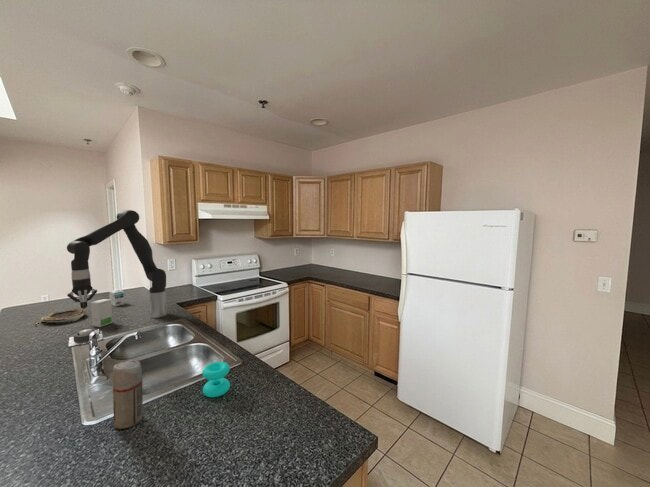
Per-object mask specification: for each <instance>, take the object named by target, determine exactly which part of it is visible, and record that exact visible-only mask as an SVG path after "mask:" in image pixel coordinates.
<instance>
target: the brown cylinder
mask: <svg viewBox="0 0 650 487" xmlns="http://www.w3.org/2000/svg"><path fill="white" fill-rule="evenodd" d="M142 368H143V367H142V364H141V362H140V361H138V360H135V359H129V360H126V361H123V362H119V363H116V364H114V365H113V369H112V393H113V397H112V398H113V399H112V400H113V401H112V402H113V428H114V429H116V430H122V429H123V430H125V429H130V428H133V427H134V426H136V425H138V424H139V423H141V421H142V420H143V414H144V412H143V410H144V409H143V408H144V407H143V406H144V405H143V404H144V402H143V369H142Z"/></svg>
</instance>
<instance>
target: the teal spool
mask: <svg viewBox="0 0 650 487" xmlns="http://www.w3.org/2000/svg"><path fill="white" fill-rule="evenodd" d="M230 369H231V367H230V364H228V362H226V361H215V362H214V361H213V362H211V363H209V364H207V365H205V367H204V368H203V369H202V372H201V374H202V376H203V378H204V379H206V380H208V381H207V382H206V383H205V384H204V386H203V387H202V392H203V395H204V396H206V397H207V398H218V397H221V396H223V395H225V394H226V393H227V392H229V389H230V388H231V383H230V380H229V379H227V378H226V376H227V375H228V374H229V372H230Z"/></svg>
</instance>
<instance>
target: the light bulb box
mask: <svg viewBox="0 0 650 487" xmlns="http://www.w3.org/2000/svg"><path fill="white" fill-rule="evenodd" d="M108 296H109V298H108V299H111V306H114V307H119V306H123V305H126V302H125V300H126V298H125V291H124V290H121V289H119V288H118V289H112V290H109V291H108Z"/></svg>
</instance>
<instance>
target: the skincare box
mask: <svg viewBox="0 0 650 487" xmlns="http://www.w3.org/2000/svg"><path fill="white" fill-rule="evenodd" d="M90 306H91V309H90V310H91V320H92V322H91V323H92V327H96V328H101V327H102V328H103V327H104V326H108V325H110V324H113V313H112V309H113V308H112V305H111V299H110V298H108V299H107V298H103V299H98V300H94V301H91V302H90Z"/></svg>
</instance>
